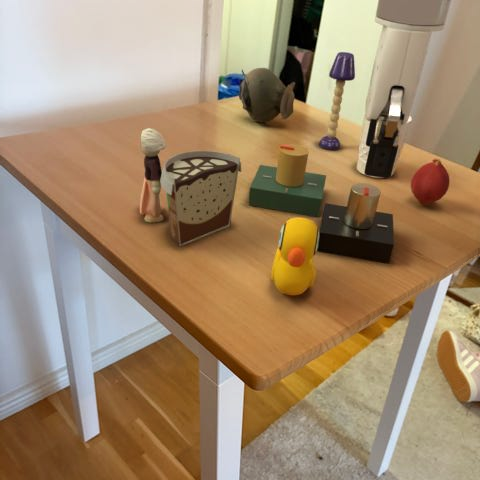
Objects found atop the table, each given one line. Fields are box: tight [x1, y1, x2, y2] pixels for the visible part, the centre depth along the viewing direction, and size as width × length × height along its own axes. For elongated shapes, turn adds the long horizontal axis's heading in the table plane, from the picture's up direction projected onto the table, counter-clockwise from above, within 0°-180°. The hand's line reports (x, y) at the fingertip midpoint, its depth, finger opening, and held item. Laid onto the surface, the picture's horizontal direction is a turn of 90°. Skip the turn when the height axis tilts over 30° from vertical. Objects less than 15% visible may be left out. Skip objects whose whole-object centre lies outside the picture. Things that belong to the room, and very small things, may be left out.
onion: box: [410, 157, 450, 206], centre depth 85 cm, size 6×6×8 cm
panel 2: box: [316, 202, 395, 264], centre depth 75 cm, size 10×9×3 cm
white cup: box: [356, 115, 413, 179], centre depth 93 cm, size 8×8×10 cm
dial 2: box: [344, 182, 382, 229], centre depth 72 cm, size 4×4×5 cm
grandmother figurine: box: [139, 127, 167, 224], centre depth 73 cm, size 8×4×13 cm, turn 22°
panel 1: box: [247, 164, 327, 218], centre depth 84 cm, size 11×9×3 cm
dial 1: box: [276, 143, 310, 187], centre depth 81 cm, size 4×4×5 cm
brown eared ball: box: [238, 67, 296, 123], centre depth 109 cm, size 10×12×10 cm
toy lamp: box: [318, 51, 356, 151], centre depth 99 cm, size 5×5×17 cm
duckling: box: [270, 217, 320, 296], centre depth 62 cm, size 11×5×10 cm, turn 171°
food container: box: [160, 150, 242, 248], centre depth 72 cm, size 12×6×10 cm, turn 134°
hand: (377, 160), depth 68 cm, fingers open, 9 cm apart
